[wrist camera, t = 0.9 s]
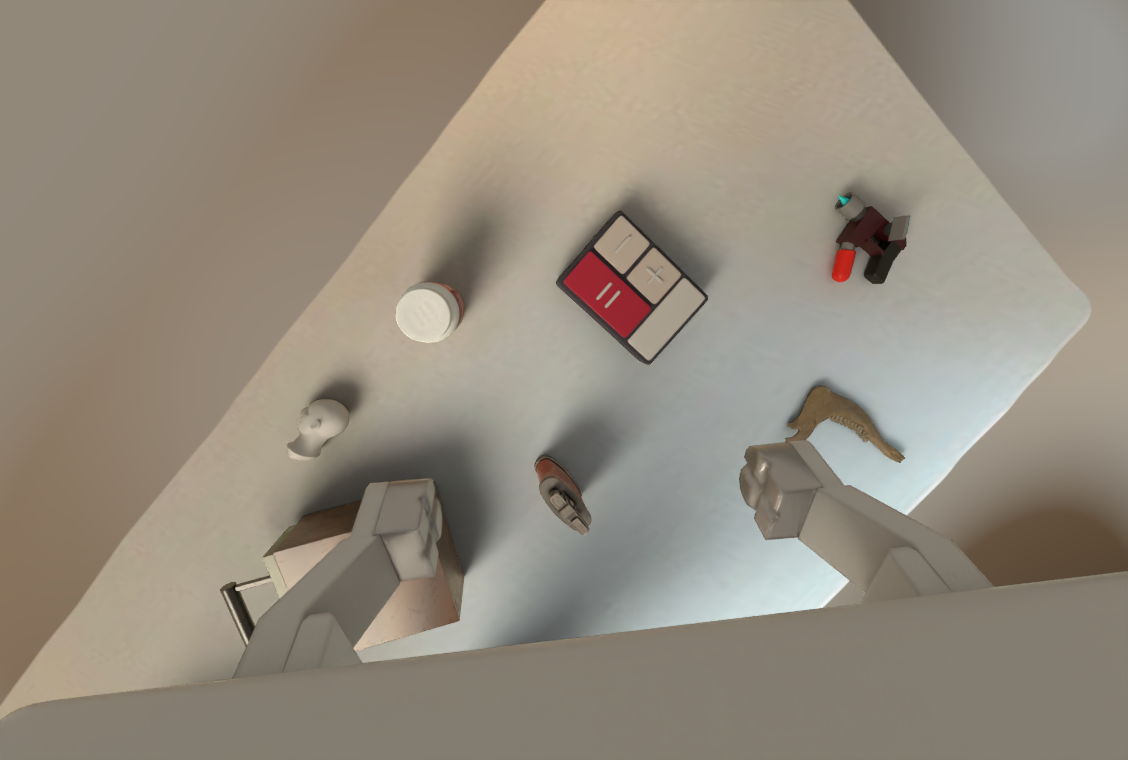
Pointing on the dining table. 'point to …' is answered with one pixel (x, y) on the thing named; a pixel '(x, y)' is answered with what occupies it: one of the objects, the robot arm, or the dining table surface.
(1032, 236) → the dining table surface
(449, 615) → the cabinet
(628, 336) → the calculator
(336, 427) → the white mannequin head
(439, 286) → the pill bottle
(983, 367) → the dining table surface
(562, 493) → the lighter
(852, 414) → the jawbone
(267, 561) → the drawer
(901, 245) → the toy gun
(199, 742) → the robot arm
